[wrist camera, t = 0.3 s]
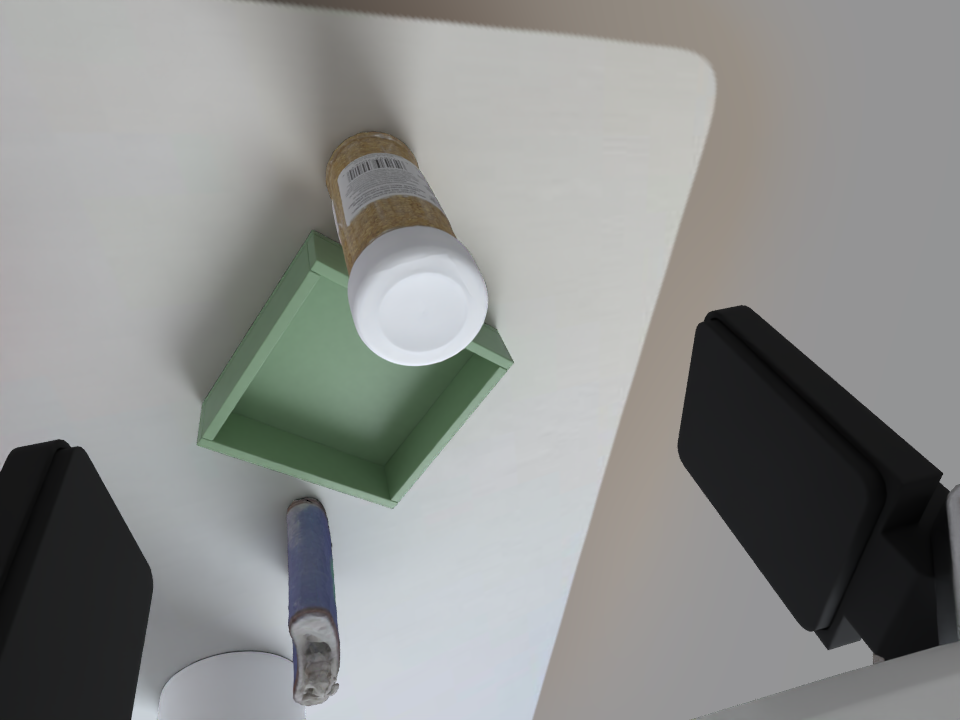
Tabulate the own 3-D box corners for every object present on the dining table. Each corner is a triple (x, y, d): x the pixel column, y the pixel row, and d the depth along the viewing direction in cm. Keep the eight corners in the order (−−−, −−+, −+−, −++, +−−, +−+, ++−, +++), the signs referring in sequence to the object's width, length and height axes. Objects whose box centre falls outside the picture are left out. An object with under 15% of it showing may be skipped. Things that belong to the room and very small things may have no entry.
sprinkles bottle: (323, 217, 33) (348, 372, 22) (327, 122, 30) (357, 245, 20) (414, 222, 34) (479, 371, 23) (425, 132, 32) (503, 252, 21)
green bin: (312, 229, 33) (316, 259, 30) (497, 329, 39) (514, 362, 36) (201, 404, 37) (195, 445, 34) (385, 470, 43) (393, 509, 40)
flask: (284, 497, 42) (288, 649, 34) (331, 493, 43) (346, 640, 35) (290, 590, 47) (294, 742, 39) (332, 584, 48) (345, 732, 40)
